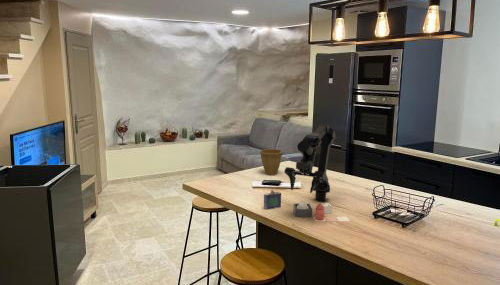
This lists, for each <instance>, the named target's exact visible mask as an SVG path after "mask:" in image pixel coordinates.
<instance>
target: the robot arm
mask: <svg viewBox="0 0 500 285" xmlns="http://www.w3.org/2000/svg"><path fill="white" fill-rule="evenodd" d="M335 140H336V131H335V130H334V129H332V128H331V127H330V126H329V125H328V124H319V125H318V127H317V128H316V129H315V130H314V131H313V132H311V133H308V134H305V136H304V137H303V139H301V141H299V142H298V144H297V146H296V148H297V150H298V151H299V153H300V154H301V155H302V158H301V159H300V161H296V163H295V168H294V167H289V166H288V167H285V168H284V171H283V172H284V174H285V175H286V176H288V178H289V181H290V183H289V184H290V190H291V191H293V190H294V187H295V182H296V178H297V177H296V176H304V177H310V178H312V180H311V185H310V191H309V193H310V194H312V193H313V192H315V195H314V200H315V201H316V202H319V203H324V202H325V203H326V201H327V194H328V193H330V192H331V186H330V183H329V177H328V175H327V168H328V161H329V154H330V149H331V146H332V145H333V144H334V141H335ZM319 147H320V152H319V158H318V167H317V170H315V171H314V172H313V169H314V167H315V164H314V162H315V158H316V155H317V152H316V150H315V148H316V149H317V148H319Z"/></svg>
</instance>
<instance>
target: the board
mask: <svg viewBox="0 0 500 285" xmlns="http://www.w3.org/2000/svg"><path fill="white" fill-rule="evenodd" d="M312 218H313V219H314V221H315V222H320V221H319V220H316V219H315V216H312ZM326 221H327V222H338V221H339V222H350V219H349V218H348V216H324V220H322V221H321V222H326Z"/></svg>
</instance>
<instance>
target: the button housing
mask: <svg viewBox="0 0 500 285" xmlns="http://www.w3.org/2000/svg"><path fill="white" fill-rule="evenodd" d="M306 204H307V206H308V207H309V209H297V206H298V205H299V203H293V205H292V206H293V209H292V210H293V215H294V217H296V218H313V208H312V206H311V204H310V203H306Z"/></svg>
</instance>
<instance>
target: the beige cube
mask: <svg viewBox="0 0 500 285" xmlns="http://www.w3.org/2000/svg"><path fill="white" fill-rule="evenodd" d="M321 204H322V205H323V207H324V215H326V214H328V215H329V214H332V213H333V206H332V205H331V204H330V203H329V202H325V203H324V202H322V203H321Z"/></svg>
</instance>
